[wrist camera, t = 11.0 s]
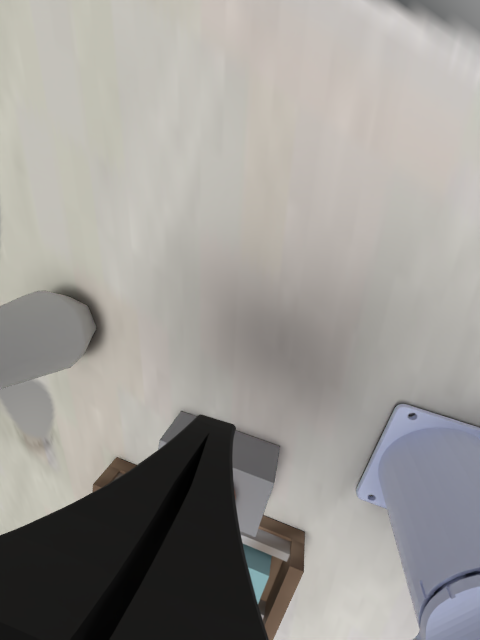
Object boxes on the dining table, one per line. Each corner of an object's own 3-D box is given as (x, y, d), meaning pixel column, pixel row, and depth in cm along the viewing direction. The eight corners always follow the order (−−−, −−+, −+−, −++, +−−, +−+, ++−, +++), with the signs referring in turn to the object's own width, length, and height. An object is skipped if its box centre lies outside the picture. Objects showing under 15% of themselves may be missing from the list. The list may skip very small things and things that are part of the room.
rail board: (304, 532, 24) (303, 571, 21) (275, 601, 27) (270, 644, 24) (116, 457, 26) (93, 484, 24) (108, 527, 29) (86, 559, 26)
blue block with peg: (272, 549, 24) (260, 647, 18) (254, 595, 25) (238, 698, 20) (213, 524, 24) (183, 612, 19) (200, 572, 26) (169, 664, 21)
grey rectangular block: (279, 446, 22) (274, 483, 19) (263, 495, 24) (255, 537, 21) (181, 410, 23) (159, 440, 20) (171, 460, 25) (150, 494, 22)
